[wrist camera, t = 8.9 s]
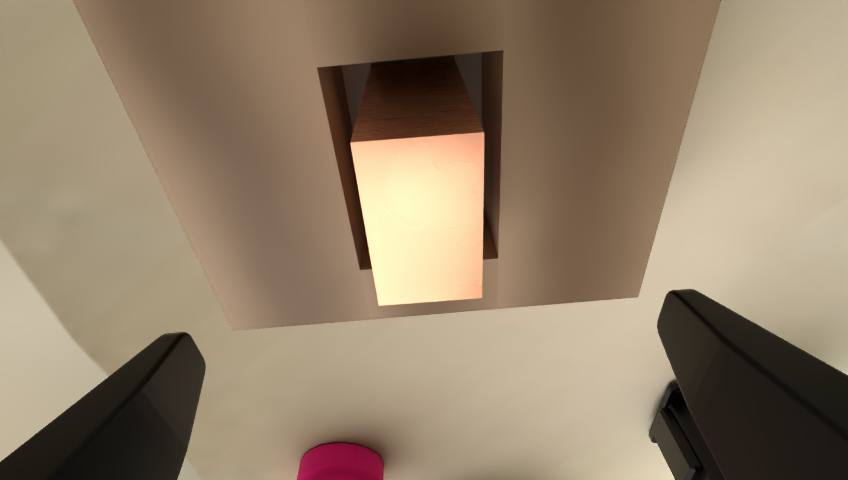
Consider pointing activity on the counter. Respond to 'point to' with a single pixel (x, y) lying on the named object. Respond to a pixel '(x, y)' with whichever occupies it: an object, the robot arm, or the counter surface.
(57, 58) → the counter surface
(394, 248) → the tall wooden block
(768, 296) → the counter surface
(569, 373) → the counter surface
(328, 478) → the pepper mill
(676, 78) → the well block
